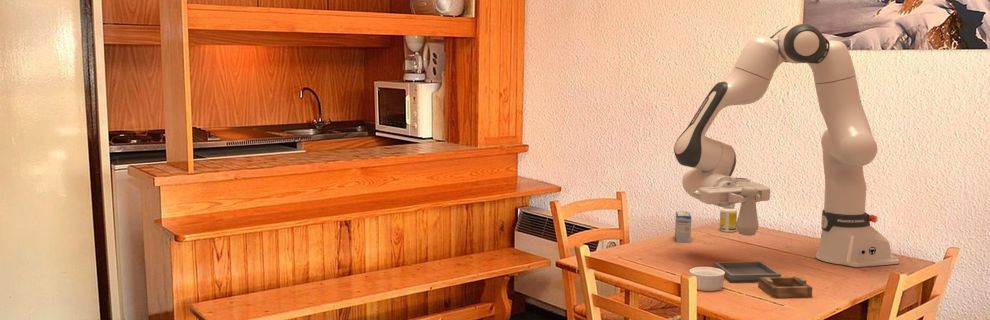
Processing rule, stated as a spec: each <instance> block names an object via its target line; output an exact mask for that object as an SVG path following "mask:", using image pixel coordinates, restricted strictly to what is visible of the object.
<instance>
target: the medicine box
mask: <svg viewBox="0 0 990 320" xmlns="http://www.w3.org/2000/svg"><path fill="white" fill-rule="evenodd" d="M690 212H691V211H688V210H687V211H686V210H676V211H675V227H674V228H675V229H674V237H675V241H676V243H685V244H686V243H691V240H692V239H691V237H692V236H691V235H692V233H691V232H692V216H691V214H690Z"/></svg>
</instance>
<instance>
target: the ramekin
mask: <svg viewBox="0 0 990 320" xmlns="http://www.w3.org/2000/svg"><path fill="white" fill-rule="evenodd" d="M724 275H725V272H724V271H723V270H721V269H718V268H714V266H713V267H712V266H711V267H710V266H696V267H693V268H690V269H689V276H696V277H697V288H698V290H699V291H704V292H705V291H706V292H716V291H719V290H720V291H721V290H722V288H723V286H724V279H725V278H724ZM698 290H697V291H698Z"/></svg>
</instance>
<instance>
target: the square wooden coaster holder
mask: <svg viewBox="0 0 990 320" xmlns="http://www.w3.org/2000/svg"><path fill="white" fill-rule="evenodd" d="M757 284H758V286H757V287H758V288H759V289H760V290H762V291H763V292H764V293H766V294H767V295H768V296H770V297H771V298H772V299H785V298H786V299H787V298H788V299H791V298H813V287H812V286H811V285H810V284H808V283H807V279H805V278H803V277H799V276H798V277H797V276H781V277H759V280H758V282H757Z"/></svg>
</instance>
